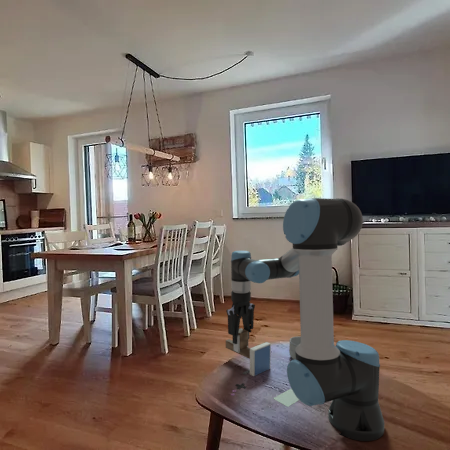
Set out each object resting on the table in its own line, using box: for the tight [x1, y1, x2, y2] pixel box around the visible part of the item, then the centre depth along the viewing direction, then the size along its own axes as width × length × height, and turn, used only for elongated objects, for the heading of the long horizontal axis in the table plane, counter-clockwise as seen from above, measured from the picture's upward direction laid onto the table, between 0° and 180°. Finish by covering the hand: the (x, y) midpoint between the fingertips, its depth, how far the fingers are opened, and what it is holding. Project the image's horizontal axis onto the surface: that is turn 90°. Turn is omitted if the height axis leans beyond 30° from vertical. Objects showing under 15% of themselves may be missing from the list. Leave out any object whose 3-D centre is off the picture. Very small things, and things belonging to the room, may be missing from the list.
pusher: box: [225, 327, 251, 360], centre depth 137 cm, size 4×16×9 cm, turn 41°
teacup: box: [288, 335, 301, 360], centre depth 139 cm, size 14×11×8 cm
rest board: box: [273, 387, 300, 408], centre depth 116 cm, size 6×19×1 cm, turn 131°
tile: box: [249, 341, 272, 377], centre depth 129 cm, size 2×9×10 cm, turn 131°
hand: (241, 349), depth 137 cm, fingers closed on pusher, 4 cm apart
